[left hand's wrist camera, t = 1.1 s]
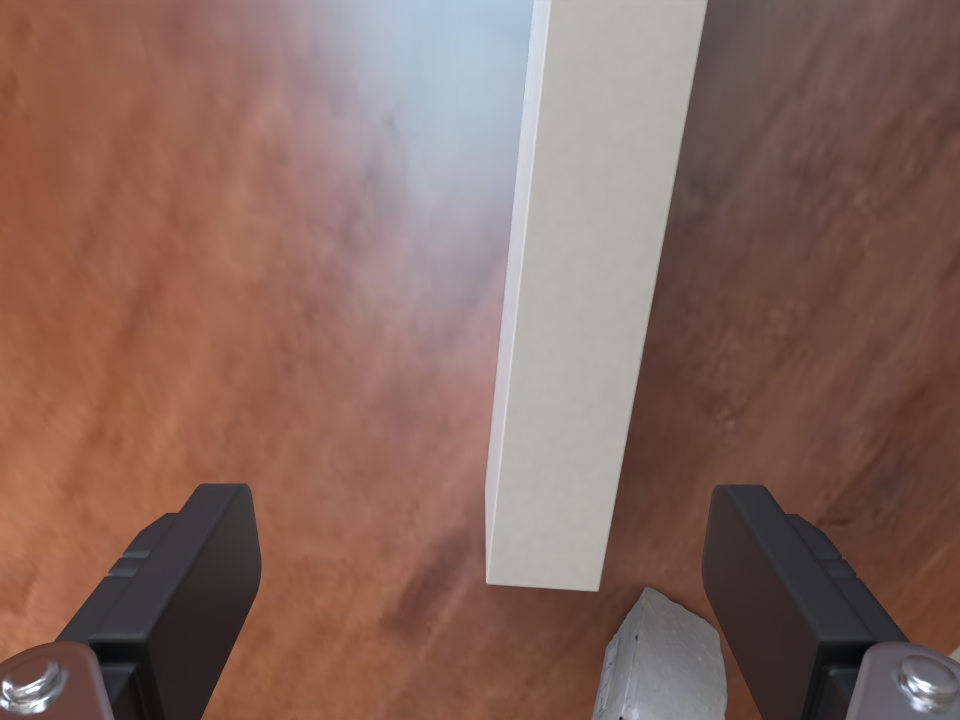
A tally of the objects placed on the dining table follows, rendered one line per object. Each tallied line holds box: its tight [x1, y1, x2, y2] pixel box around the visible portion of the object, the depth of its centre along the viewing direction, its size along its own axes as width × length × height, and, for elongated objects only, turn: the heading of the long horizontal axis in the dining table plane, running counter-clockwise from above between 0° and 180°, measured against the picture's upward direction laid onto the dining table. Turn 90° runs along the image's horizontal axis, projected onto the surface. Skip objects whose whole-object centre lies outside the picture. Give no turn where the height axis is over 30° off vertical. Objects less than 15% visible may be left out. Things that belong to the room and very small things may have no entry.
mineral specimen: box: [591, 587, 727, 720], centre depth 35 cm, size 7×9×8 cm
